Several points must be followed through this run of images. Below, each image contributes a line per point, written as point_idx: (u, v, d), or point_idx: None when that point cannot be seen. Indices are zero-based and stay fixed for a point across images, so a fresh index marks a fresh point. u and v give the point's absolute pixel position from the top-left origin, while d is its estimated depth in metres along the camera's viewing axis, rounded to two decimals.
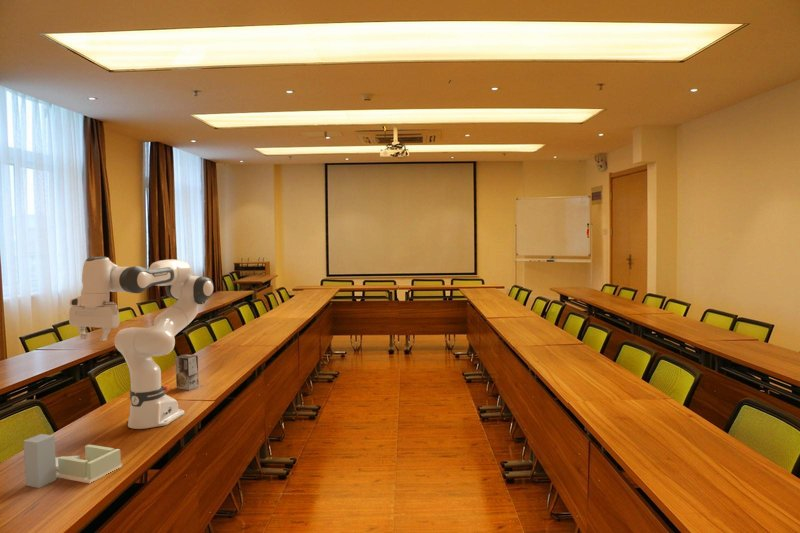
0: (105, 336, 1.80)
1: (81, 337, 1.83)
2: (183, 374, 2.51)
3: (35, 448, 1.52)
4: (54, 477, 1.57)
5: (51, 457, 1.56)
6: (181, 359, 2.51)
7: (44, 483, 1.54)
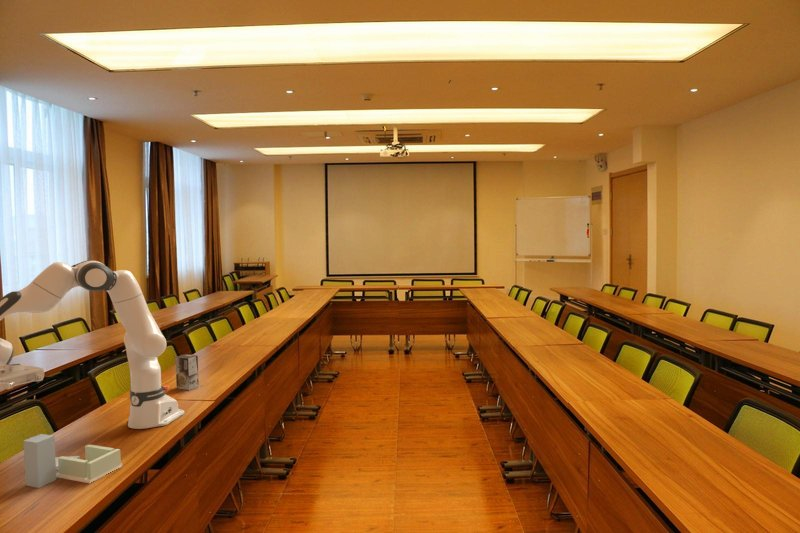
0: (5, 386, 1.60)
1: None
2: (183, 374, 2.51)
3: (35, 448, 1.52)
4: (54, 477, 1.57)
5: (51, 457, 1.56)
6: (181, 359, 2.51)
7: (44, 483, 1.54)
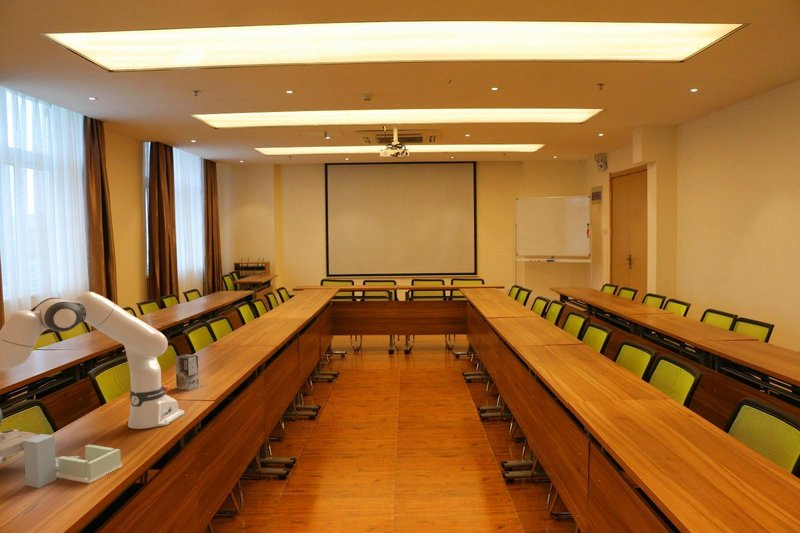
0: None
1: None
2: (183, 374, 2.51)
3: (35, 448, 1.52)
4: (54, 477, 1.57)
5: (51, 457, 1.56)
6: (181, 359, 2.51)
7: (44, 483, 1.54)
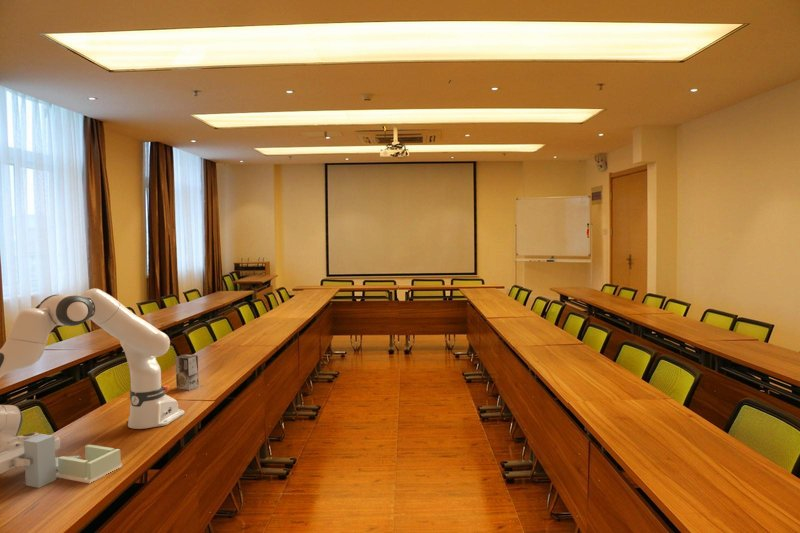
0: (24, 462, 1.52)
1: None
2: (183, 374, 2.51)
3: (35, 448, 1.52)
4: (54, 477, 1.57)
5: (51, 457, 1.56)
6: (181, 359, 2.51)
7: (44, 483, 1.54)
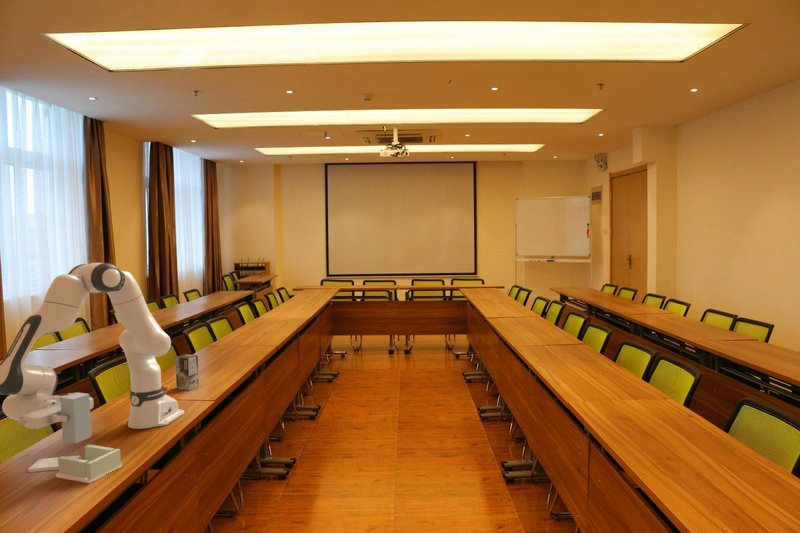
0: (62, 418, 1.57)
1: None
2: (183, 374, 2.51)
3: (71, 405, 1.57)
4: (89, 434, 1.62)
5: (86, 414, 1.61)
6: (181, 359, 2.51)
7: (80, 439, 1.59)
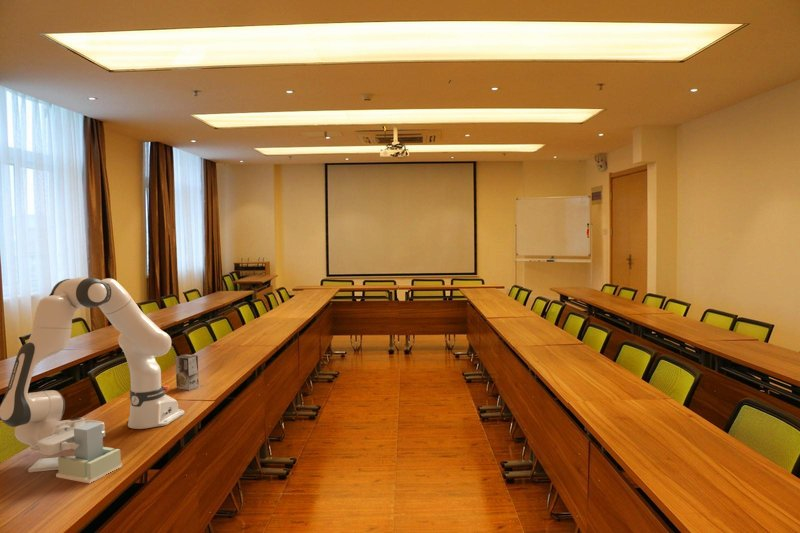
0: (71, 446, 1.58)
1: None
2: (183, 374, 2.51)
3: (85, 435, 1.59)
4: None
5: (99, 445, 1.63)
6: (181, 359, 2.51)
7: None
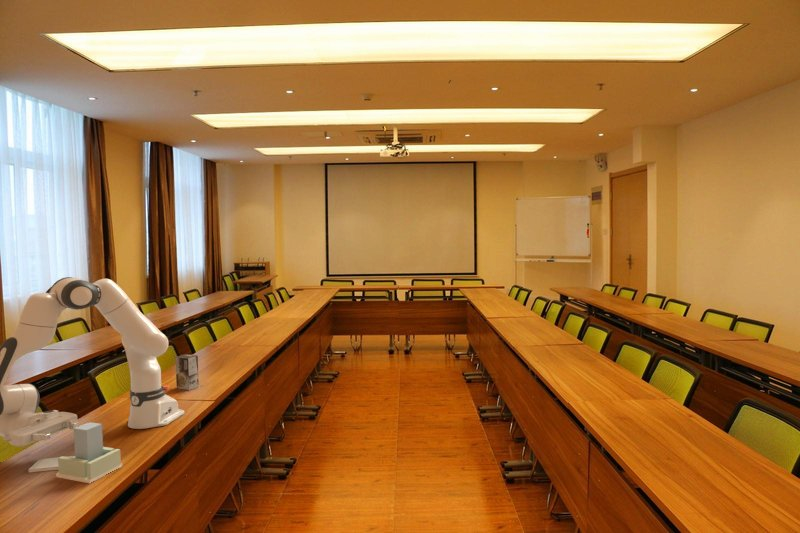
0: (42, 437, 1.62)
1: None
2: (183, 374, 2.51)
3: (85, 435, 1.59)
4: None
5: (99, 445, 1.63)
6: (181, 359, 2.51)
7: None
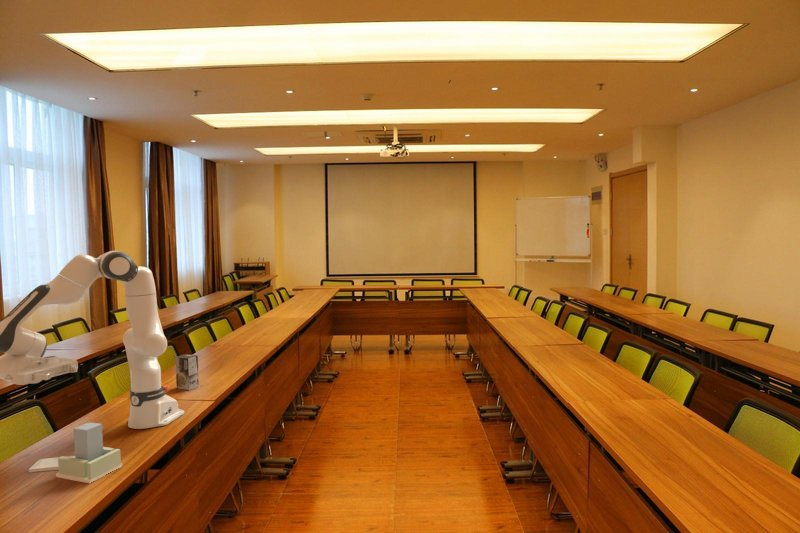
0: (43, 377, 1.65)
1: None
2: (183, 374, 2.51)
3: (85, 435, 1.59)
4: None
5: (99, 445, 1.63)
6: (181, 359, 2.51)
7: None
